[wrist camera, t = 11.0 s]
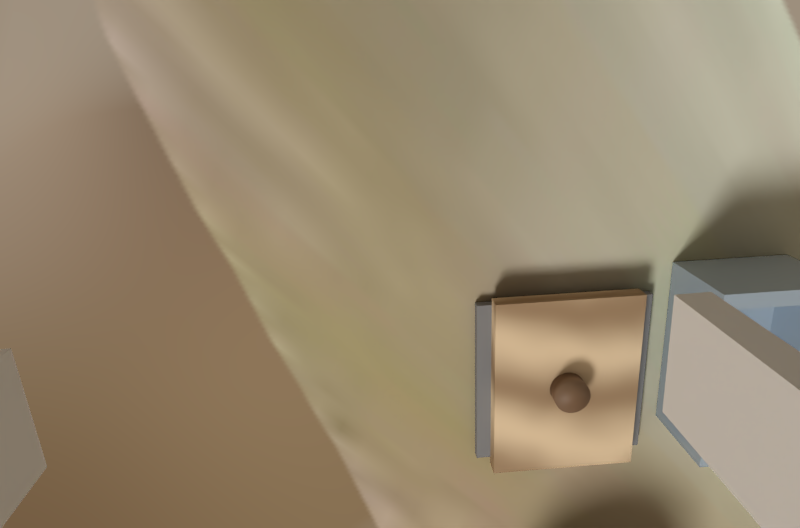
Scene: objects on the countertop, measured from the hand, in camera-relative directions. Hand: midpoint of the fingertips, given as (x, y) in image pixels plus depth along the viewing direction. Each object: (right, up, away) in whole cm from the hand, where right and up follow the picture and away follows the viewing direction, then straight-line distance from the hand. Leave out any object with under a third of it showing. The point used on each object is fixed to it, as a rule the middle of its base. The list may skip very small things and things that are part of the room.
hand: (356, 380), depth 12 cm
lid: (+12, -6, +30) cm, 33 cm away
